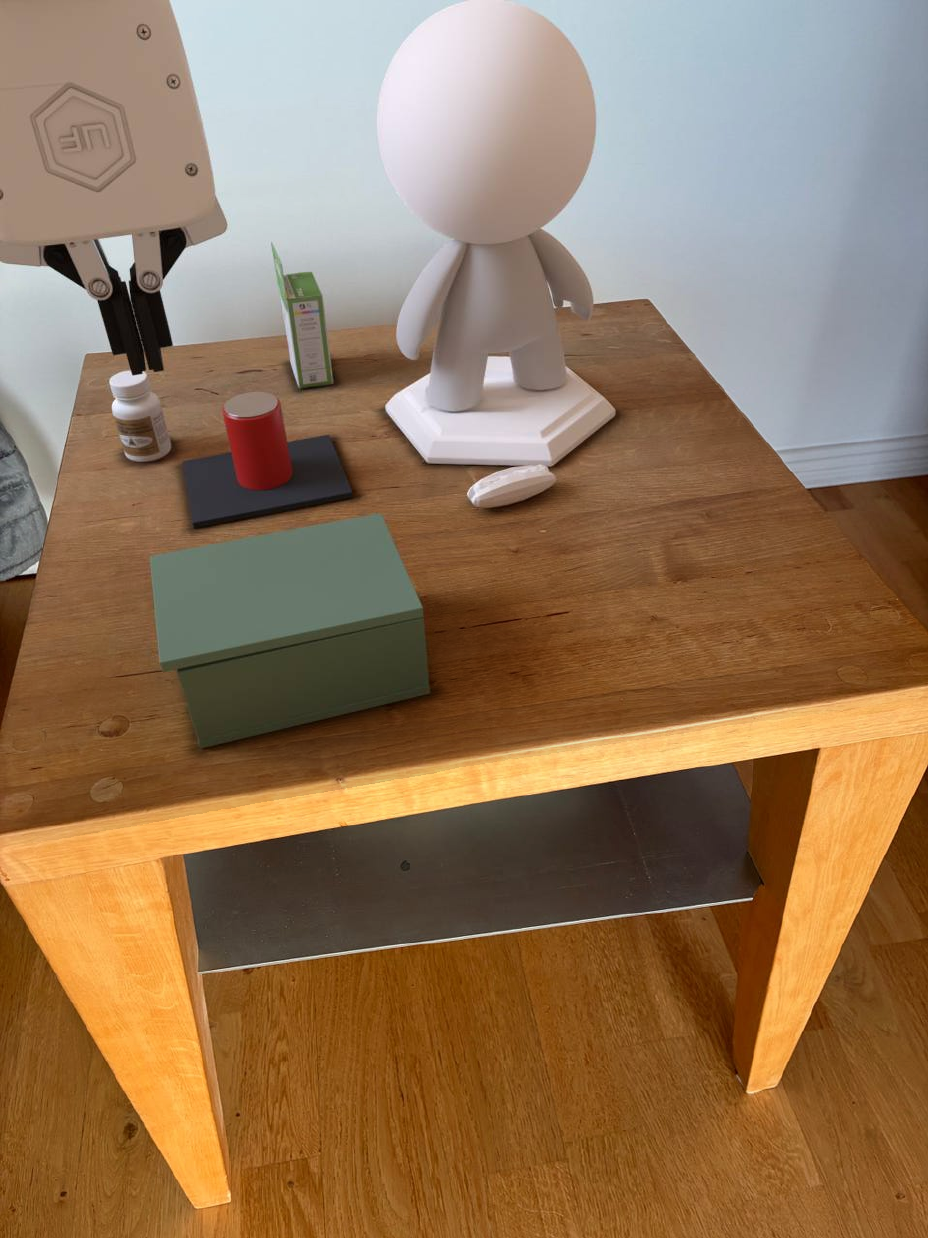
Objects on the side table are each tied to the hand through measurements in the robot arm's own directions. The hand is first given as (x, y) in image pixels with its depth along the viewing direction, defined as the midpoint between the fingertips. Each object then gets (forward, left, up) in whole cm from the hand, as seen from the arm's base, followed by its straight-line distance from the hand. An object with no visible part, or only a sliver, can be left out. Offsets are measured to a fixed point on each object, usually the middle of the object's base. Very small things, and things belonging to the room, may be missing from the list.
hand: (146, 361), depth 50 cm
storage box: (+5, +2, -25) cm, 26 cm away
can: (+6, +28, -24) cm, 38 cm away
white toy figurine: (+30, +33, -25) cm, 51 cm away
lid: (+5, +3, -18) cm, 19 cm away
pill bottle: (-4, +38, -25) cm, 46 cm away
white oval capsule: (+26, +18, -25) cm, 40 cm away
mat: (+6, +28, -25) cm, 38 cm away
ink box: (+14, +49, -25) cm, 57 cm away
